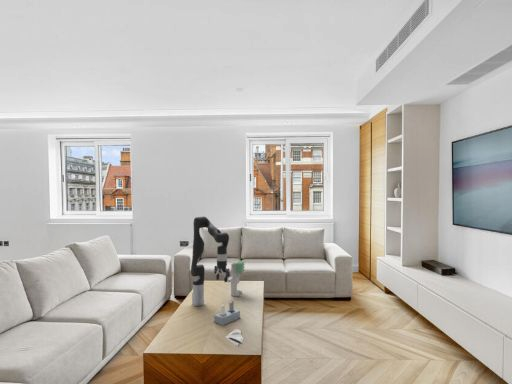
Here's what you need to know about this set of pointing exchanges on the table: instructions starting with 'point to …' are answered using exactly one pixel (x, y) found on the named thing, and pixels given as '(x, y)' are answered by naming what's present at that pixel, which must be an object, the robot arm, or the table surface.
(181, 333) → the table surface
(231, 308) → the grey peg
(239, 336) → the cloth
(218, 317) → the hole block
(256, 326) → the table surface
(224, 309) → the cream peg
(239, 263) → the toy
